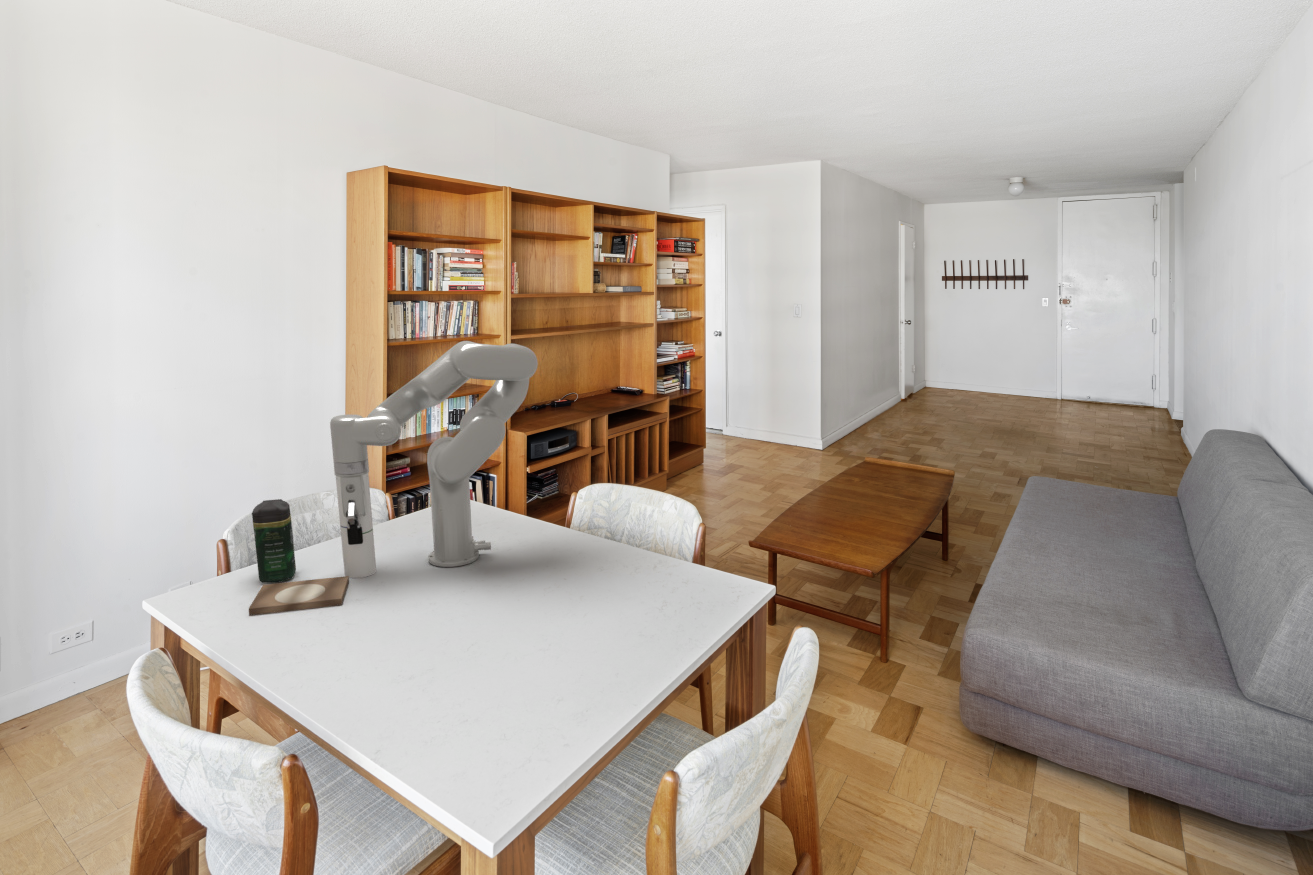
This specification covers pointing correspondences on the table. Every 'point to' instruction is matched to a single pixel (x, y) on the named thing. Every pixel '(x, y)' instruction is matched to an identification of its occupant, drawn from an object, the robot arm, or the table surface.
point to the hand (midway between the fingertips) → (357, 537)
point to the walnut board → (299, 595)
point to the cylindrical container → (362, 555)
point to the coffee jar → (274, 541)
